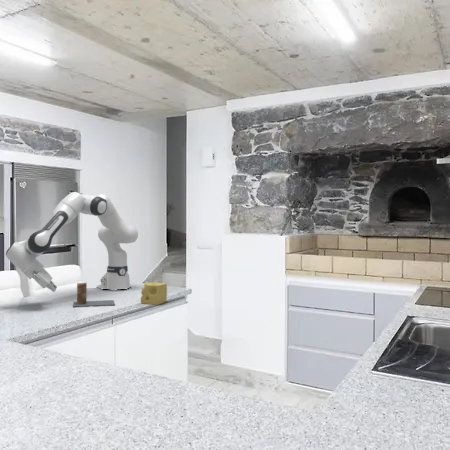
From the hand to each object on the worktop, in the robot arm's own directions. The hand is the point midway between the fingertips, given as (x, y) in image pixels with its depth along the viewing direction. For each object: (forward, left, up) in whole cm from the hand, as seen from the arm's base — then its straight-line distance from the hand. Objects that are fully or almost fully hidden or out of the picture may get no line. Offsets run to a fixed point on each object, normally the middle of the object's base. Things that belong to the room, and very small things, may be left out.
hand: (55, 289), depth 227 cm
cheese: (+22, +43, -8) cm, 49 cm away
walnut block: (+5, +11, -7) cm, 14 cm away
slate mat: (+8, +17, -8) cm, 20 cm away
